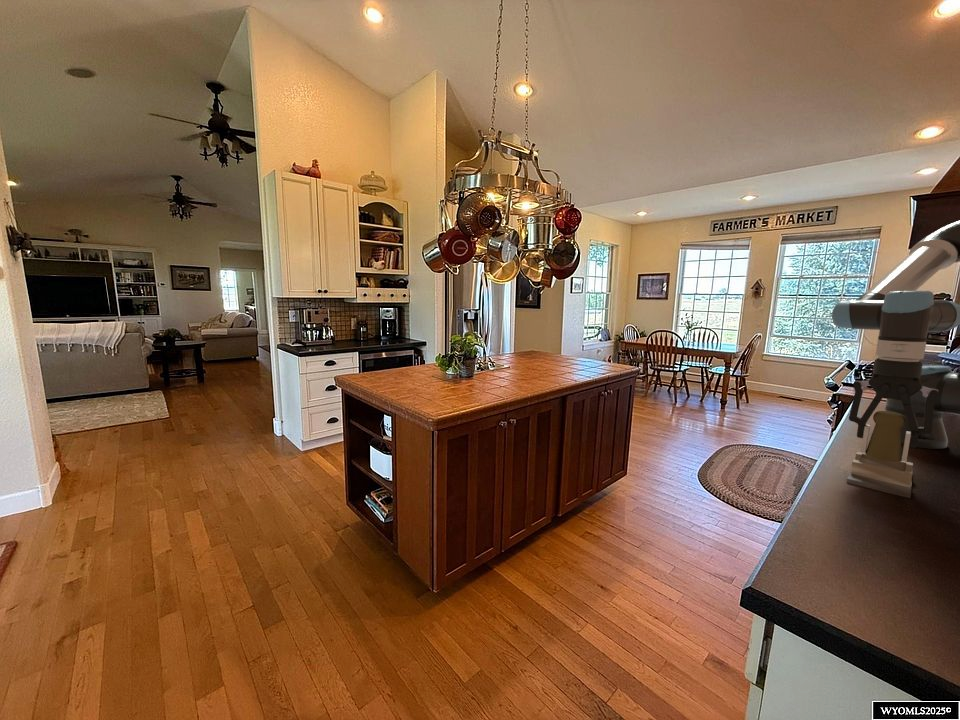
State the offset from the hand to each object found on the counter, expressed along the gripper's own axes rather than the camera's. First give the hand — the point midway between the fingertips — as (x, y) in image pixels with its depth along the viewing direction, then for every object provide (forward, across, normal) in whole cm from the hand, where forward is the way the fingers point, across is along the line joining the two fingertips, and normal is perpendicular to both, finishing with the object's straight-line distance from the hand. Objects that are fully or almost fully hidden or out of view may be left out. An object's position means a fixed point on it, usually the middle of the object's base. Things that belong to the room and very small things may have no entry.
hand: (883, 455), depth 92 cm
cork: (+1, 0, 0) cm, 1 cm away
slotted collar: (+6, 0, 0) cm, 6 cm away
